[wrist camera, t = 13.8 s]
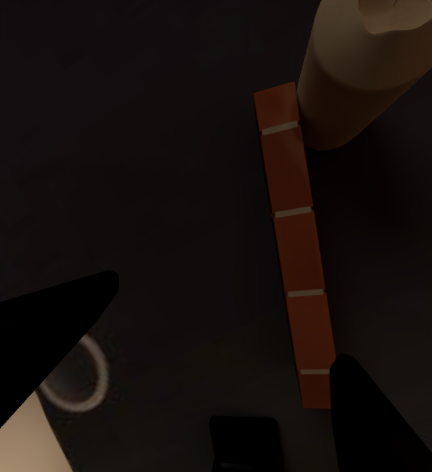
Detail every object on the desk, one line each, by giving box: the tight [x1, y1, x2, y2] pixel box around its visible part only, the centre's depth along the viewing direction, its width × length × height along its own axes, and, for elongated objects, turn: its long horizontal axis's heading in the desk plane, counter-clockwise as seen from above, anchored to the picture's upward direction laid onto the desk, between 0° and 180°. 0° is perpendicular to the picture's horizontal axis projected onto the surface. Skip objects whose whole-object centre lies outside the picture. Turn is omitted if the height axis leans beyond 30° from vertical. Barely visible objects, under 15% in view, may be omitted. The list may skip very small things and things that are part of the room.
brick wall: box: [254, 82, 336, 409], centre depth 16 cm, size 22×3×4 cm, turn 10°
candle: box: [296, 0, 432, 151], centre depth 12 cm, size 6×6×10 cm
